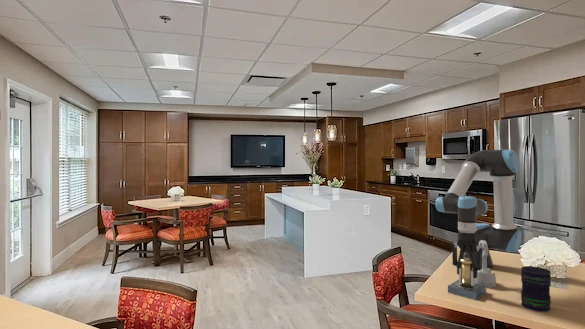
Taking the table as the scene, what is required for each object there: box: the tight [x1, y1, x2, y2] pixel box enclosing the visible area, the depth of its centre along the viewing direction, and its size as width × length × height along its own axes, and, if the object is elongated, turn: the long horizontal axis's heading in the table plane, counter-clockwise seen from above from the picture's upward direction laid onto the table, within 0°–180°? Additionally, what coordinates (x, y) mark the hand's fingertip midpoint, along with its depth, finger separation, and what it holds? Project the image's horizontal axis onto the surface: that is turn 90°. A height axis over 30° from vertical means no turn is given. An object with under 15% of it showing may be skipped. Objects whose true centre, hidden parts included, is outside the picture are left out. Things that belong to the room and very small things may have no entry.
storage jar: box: [520, 265, 552, 313], centre depth 143 cm, size 10×10×15 cm
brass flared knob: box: [460, 258, 473, 288], centre depth 159 cm, size 6×6×12 cm
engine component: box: [475, 240, 497, 289], centre depth 170 cm, size 11×20×10 cm
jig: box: [447, 279, 487, 301], centre depth 159 cm, size 12×12×3 cm
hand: (466, 283), depth 159 cm, fingers closed on brass flared knob, 4 cm apart
